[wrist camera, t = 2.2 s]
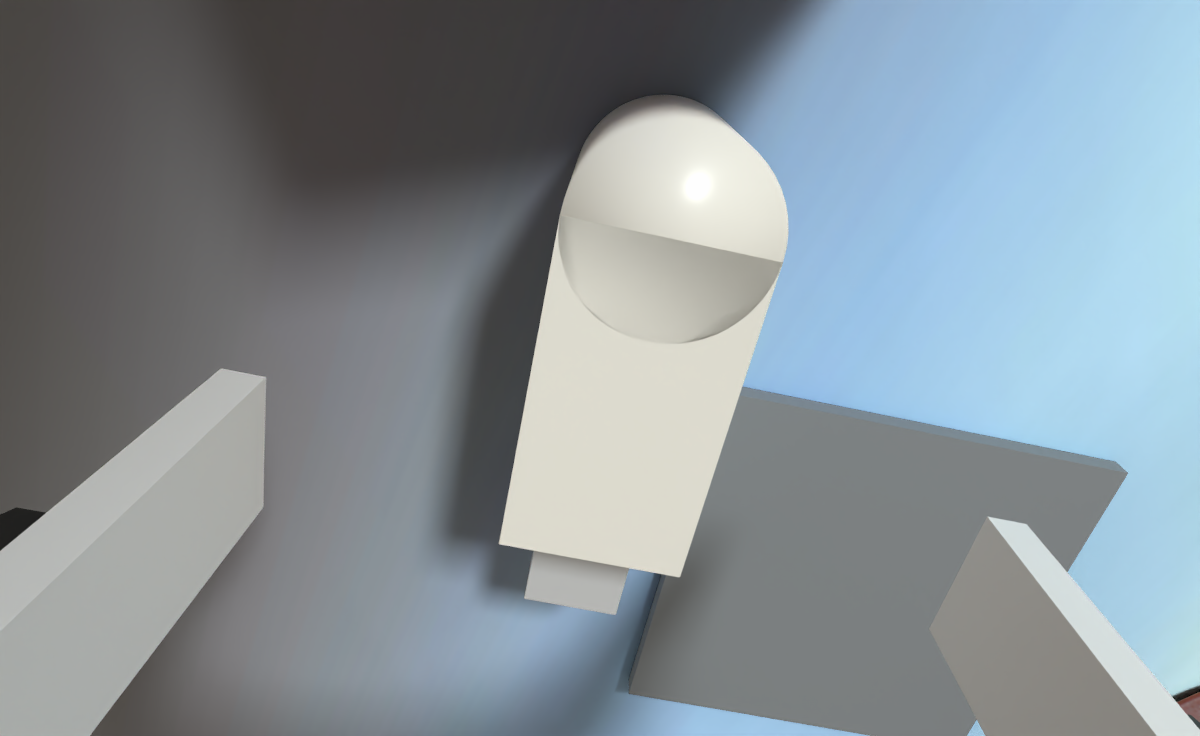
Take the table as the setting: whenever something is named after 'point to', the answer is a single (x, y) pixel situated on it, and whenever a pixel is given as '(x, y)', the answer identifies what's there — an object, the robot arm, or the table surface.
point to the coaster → (847, 563)
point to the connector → (641, 347)
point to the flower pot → (1191, 705)
